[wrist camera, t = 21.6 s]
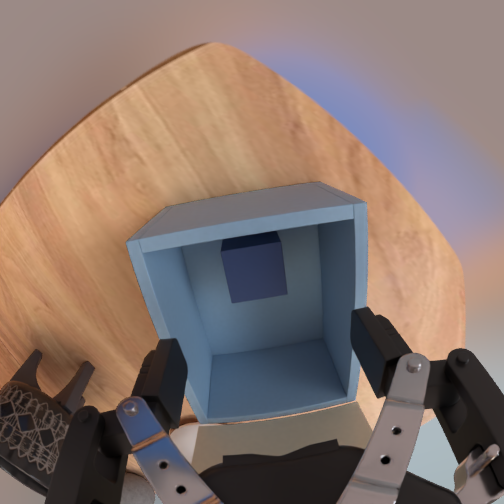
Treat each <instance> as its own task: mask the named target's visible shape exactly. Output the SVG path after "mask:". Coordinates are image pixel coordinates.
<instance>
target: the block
mask: <svg viewBox="0 0 504 504" xmlns="http://www.w3.org/2000/svg"><path fill="white" fill-rule="evenodd" d="M220 253H221V257H222V262H223V267H224V271H225V276H226V280H227V285H228V289H229V293H230V298H231V302H232V303H239V302H245V301H252V300H258V299H264V298H270V297H276V296H281V295H287V294H288V292H287V283H286V275H285V267H284V259H283V251H282V243H281V240H280V238H279V236H278V233H277V231H270V232H264V233H258V234H252V235H245V236H239V237H233V238H227V239H222V245H221V251H220Z"/></svg>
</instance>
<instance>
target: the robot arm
mask: <svg viewBox="0 0 504 504" xmlns="http://www.w3.org/2000/svg"><path fill="white" fill-rule="evenodd" d="M350 341H351V346H352V348H353V351H354V353H355V354H356V356H357V358H358V360H359V362H360V364H361V366H362V368H363V370H364V372H365V374H366V377H367V379H368V381H369V383H370V385H371V387H372V389H373V391H374V393H375V395H376V397H377V399H378V398H381V397H384V396H386V399H385V402H384V405H383V408H382V410H381V413H380V415H379V418H378V421H377V423H376V426H375V428H374V430H373V433H372V435H371V438H370V440H369V442H368V444H367V447H366V449H363V448H360V447H356V446H349V445H339V444H338V441H337V439H333V440H329V441H325V442H320V443H316V444H311V445H308V446H305V447H303V448H301V449H298V450H296V451H293V452H290V453H288V454H285V455H282V456H272V455H260V454H239V455H223V463H219V464H216V465H213V466H211V467H209V468H207V469H206V470H204V471H202V472H201V473H200V474H198V472H197V471H196V470H195V469H194V468H193V466H192V465H191V464H190V463H189V461H188V460H187V459H186V458H185V456H184V455H183V454H182V453H181V451H180V450H179V449H178V447H177V446H176V445H175V443H174V442H173V440H172V439H171V438H170V436H169V430H170V429H178V428H179V422H180V416H181V410H182V404H183V398H184V393H185V387H186V382H187V376H188V366H187V362H186V360H185V357H184V355H183V352H182V350H181V347H180V345H179V342H178V340H177V338H168V339H160V340H159V343H158V345H157V348H156V350H151V351H150V352H149V354H148V355H147V356H146V357H145V358H144V361H143V364H142V367H141V369H140V372H139V373H140V374H138V377H137V380H136V383H135V385H134V388H133V391H132V394H131V397H128V398H125V399H124V400H122V401H121V402H120V403H119V404H118V406H117V408H116V410H112V411H107V412H102V413H100V412H99V411H98V410H97V408H95V407H94V406H84V407H81V408H80V409H78V410H77V411H76V412H75V414H74V415H73V418H72V420H71V423H70V425H69V428H68V431H67V433H66V436H65V439H64V442H63V444H62V447H61V450H60V453H59V456H58V459H57V462H56V465H55V468H54V471H53V475H52V478H51V481H50V485H49V489H48V492H47V496H46V500H45V504H120V503H121V496H122V489H123V483H124V477H125V471H126V465H127V460H128V454H133V456H134V457H135V459H136V461H137V463H138V465H139V466H140V468H141V470H142V471H143V473H144V475H145V476H146V478H147V480H148V481H149V483H150V485H151V486H152V488H153V489H154V491H155V492H156V494H157V495H158V497H159V498H160V500H161V501H162V503H163V504H491V503H493V502H494V501H496V500H497V499H499V498H500V497H502V496H503V495H504V395H503V393H502V392H501V390H500V389H499V387H498V386H497V385H496V383H495V382H494V381H493V379H492V378H491V376H490V375H489V374H488V372H487V371H486V369H485V368H484V367H483V365H482V364H481V363H480V362H479V360H478V359H477V358H476V356H475V355H474V354H473V353H472V352H471V351H469V350H467V349H462V348H459V349H454V350H452V351H451V352H450V353H449V355H448V357H447V359H446V360H437V361H429V360H428V359H427V358H426V357H425V356H423V355H421V354H418V353H413V352H412V351H411V349H410V348H409V346H408V345H407V344H406V342H405V341H404V340H403V338H402V337H401V336H400V334H399V333H398V332H397V330H396V329H395V328H394V326H393V325H392V324H391V322H390V321H389V320H388V319H387V318H385V317H383V316H382V315H380V314H379V315H376V316H375V315H374V314H373V312H372V311H371V310H370V308H369V307H363V308H359V309H355V310H352V312H351V328H350ZM431 408H432V409H433V411H434V413H435V415H436V417H437V419H438V421H439V423H440V425H441V427H442V428H443V431H444V433H445V435H446V437H447V440H448V442H449V444H450V446H451V448H452V451H453V453H454V455H455V457H456V460H457V462H458V464H459V466H458V467H457V468H456V470H455V473H454V482H455V489H454V492H453V491H451V490H449V489H447V488H444V487H442V486H439V485H437V484H435V483H432V482H430V481H428V480H426V479H423V478H421V477H419V476H417V475H415V474H413V473H411V472H408V471H406V470H407V467H408V465H409V462H410V459H411V456H412V453H413V450H414V446H415V443H416V440H417V436H418V433H419V429H420V425H421V421H422V417H423V413H424V409H431Z"/></svg>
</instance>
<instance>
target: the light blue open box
mask: <svg viewBox="0 0 504 504" xmlns="http://www.w3.org/2000/svg"><path fill="white" fill-rule="evenodd" d="M270 231H277V233H278V236H279V238H280V240H281V243H282V251H283V259H284V267H285V275H286V283H287V292H288V294H287V295H281V296H276V297H270V298H264V299H258V300H252V301H245V302H239V303H232V302H231V298H230V293H229V289H228V285H227V280H226V276H225V271H224V267H223V262H222V257H221V253H220V251H221V245H222V239H227V238H233V237H239V236H245V235H252V234H258V233H264V232H270ZM126 246H127V249H128V252H129V256H130V259H131V262H132V265H133V268H134V271H135V275H136V278H137V281H138V283H139V286H140V289H141V292H142V295H143V298H144V301H145V303H146V306H147V309H148V311H149V314H150V317H151V319H152V322H153V324H154V327H155V329H156V332H157V334H158V337H159V339H168V338H177V340H178V342H179V345H180V347H181V350H182V352H183V355H184V357H185V360H186V362H187V366H188V376H187V382H186V387H185V393H184V394H185V396H186V398H187V400H188V402H189V404H190V406H191V408H192V410H193V412H194V414H195V415H196V417H197V419H198V421H199V423H200V424H209V423H210V424H215V423H229V422H241V421H250V420H259V419H266V418H273V417H280V416H286V415H292V414H297V413H303V412H308V411H313V410H317V409H322V408H326V407H331V406H335V405H339V404H343V403H347V402H351V401H354V400H355V399H356V393H357V387H358V381H359V374H360V366H361V364H360V362H359V360H358V358H357V356H356V354H355V353H354V351H353V348H352V346H351V341H350V328H351V312H352V310H355V309H359V308H363V307H366V301H367V277H368V221H367V202H365V201H363V200H360V199H358V198H356V197H354V196H352V195H350V194H347V193H345V192H343V191H341V190H338V189H336V188H334V187H331V186H329V185H327V184H324V183H322V182H312V183H304V184H297V185H289V186H282V187H275V188H268V189H262V190H255V191H249V192H243V193H237V194H231V195H225V196H220V197H214V198H209V199H203V200H198V201H193V202H188V203H183V204H178V205H173V206H168V207H165V208H164V209H163V210H162V211H161V212H159V213H158V214H157V215H156V216H155V217H153V218H152V219H151V220H150V221H149V222H148V223H146V224H145V225H144V226H143V227H142V228H141V229H140V230H138V231H137V232H136V233H135V234H134V235H133V236H132V237H131V238H129V239H128V240H127V241H126Z"/></svg>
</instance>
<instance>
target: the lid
mask: <svg viewBox="0 0 504 504" xmlns="http://www.w3.org/2000/svg"><path fill="white" fill-rule="evenodd" d="M372 433H373V431H372V429H371V427H370V425H369V423H368V421H367V419H366V417H365V415H364V414H363V412H362V410H361V408H360V406H359V404H358V402H354V403H350V404H346V405H343V406H339V407H335V408H330V409H326V410H322V411H317V412H313V413H308V414H303V415H297V416H292V417H286V418H280V419H273V420H266V421H258V422H250V423H240V424H229V425H214V426H199V427H198V432H197V437H196V442H195V448H194V453H193V458H192V463H191V465H192V466H193V468H194V469H195V470H196V471H197V472H198V474H200V473H201V472H202V471H204V470H206V469H207V468H209V467H211V466H213V465H216V464H219V463H223V455H239V454H260V455H272V456H282V455H285V454H288V453H290V452H293V451H296V450H298V449H301V448H303V447H305V446H308V445H311V444H316V443H320V442H325V441H329V440H333V439H337V441H338V444H339V445H349V446H356V447H360V448H363V449H366V447H367V444H368V442H369V440H370V438H371V435H372Z"/></svg>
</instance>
